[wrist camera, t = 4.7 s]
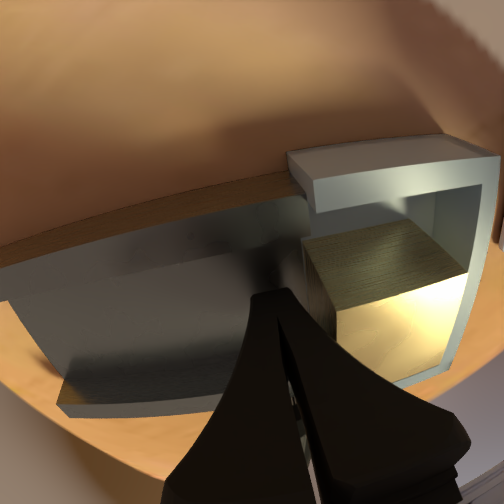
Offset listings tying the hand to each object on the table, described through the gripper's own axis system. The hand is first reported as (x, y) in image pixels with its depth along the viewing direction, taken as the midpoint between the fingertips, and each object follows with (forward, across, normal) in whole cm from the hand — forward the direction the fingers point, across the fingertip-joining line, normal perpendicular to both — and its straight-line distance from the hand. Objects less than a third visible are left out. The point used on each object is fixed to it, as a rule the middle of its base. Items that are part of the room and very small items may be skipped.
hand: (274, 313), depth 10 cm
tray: (+1, -4, 0) cm, 5 cm away
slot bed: (+1, +5, 0) cm, 5 cm away
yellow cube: (+1, -3, 0) cm, 3 cm away
